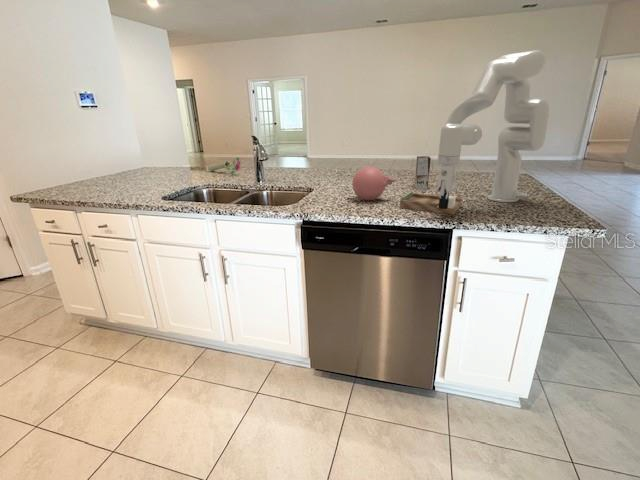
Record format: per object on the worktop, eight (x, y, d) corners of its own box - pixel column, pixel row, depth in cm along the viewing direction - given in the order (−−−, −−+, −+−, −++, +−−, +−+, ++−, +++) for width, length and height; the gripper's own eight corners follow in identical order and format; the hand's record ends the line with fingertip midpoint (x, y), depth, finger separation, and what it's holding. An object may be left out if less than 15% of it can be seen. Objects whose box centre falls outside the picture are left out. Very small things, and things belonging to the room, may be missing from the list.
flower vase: (218, 181, 252) (249, 174, 231) (203, 178, 242) (235, 171, 221) (217, 165, 252) (249, 157, 231) (203, 162, 242) (235, 153, 221)
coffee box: (428, 189, 177) (431, 158, 171) (415, 189, 178) (417, 157, 173) (426, 185, 186) (429, 155, 180) (414, 185, 187) (416, 155, 181)
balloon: (393, 205, 149) (395, 170, 143) (349, 203, 154) (349, 169, 149) (396, 197, 163) (398, 164, 157) (355, 195, 168) (355, 164, 163)
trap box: (460, 205, 146) (462, 195, 144) (453, 214, 134) (454, 203, 132) (410, 200, 156) (411, 190, 155) (399, 208, 145) (400, 197, 143)
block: (454, 205, 139) (455, 196, 137) (452, 208, 135) (453, 198, 133) (442, 204, 141) (443, 194, 140) (439, 207, 137) (440, 197, 136)
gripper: (455, 163, 117) (448, 214, 124) (462, 158, 129) (456, 205, 136) (433, 162, 121) (428, 211, 127) (442, 157, 133) (437, 202, 139)
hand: (443, 208), depth 131 cm, fingers closed
